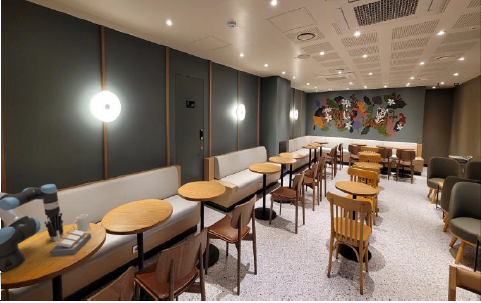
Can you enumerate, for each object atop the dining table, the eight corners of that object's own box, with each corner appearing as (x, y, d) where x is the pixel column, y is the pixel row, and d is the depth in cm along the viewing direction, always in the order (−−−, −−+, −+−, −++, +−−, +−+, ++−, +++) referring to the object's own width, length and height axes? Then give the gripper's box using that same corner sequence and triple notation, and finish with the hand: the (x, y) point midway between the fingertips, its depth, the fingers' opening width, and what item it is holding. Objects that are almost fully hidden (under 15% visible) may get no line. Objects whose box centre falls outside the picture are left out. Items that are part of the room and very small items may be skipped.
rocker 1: (54, 244, 146) (55, 241, 146) (59, 240, 150) (59, 237, 150) (70, 247, 148) (71, 244, 147) (74, 243, 152) (75, 241, 152)
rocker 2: (60, 239, 152) (61, 236, 152) (65, 235, 156) (65, 232, 156) (75, 242, 153) (76, 239, 153) (79, 238, 158) (80, 236, 157)
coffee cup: (49, 237, 167) (46, 219, 164) (66, 233, 173) (63, 216, 170) (47, 244, 159) (43, 225, 156) (64, 239, 164) (61, 221, 162)
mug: (76, 235, 170) (74, 221, 168) (70, 233, 174) (68, 219, 171) (92, 228, 180) (90, 215, 178) (86, 226, 184) (84, 213, 182)
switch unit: (50, 256, 145) (49, 249, 144) (70, 239, 165) (69, 233, 164) (74, 254, 147) (73, 247, 146) (91, 237, 167) (90, 231, 166)
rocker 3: (66, 234, 158) (67, 231, 157) (70, 231, 162) (71, 228, 162) (81, 237, 159) (81, 235, 159) (84, 234, 164) (85, 231, 163)
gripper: (50, 211, 138) (56, 245, 142) (64, 203, 150) (69, 234, 155) (37, 212, 137) (43, 246, 141) (53, 203, 150) (58, 234, 154)
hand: (57, 239), depth 148 cm, fingers closed
